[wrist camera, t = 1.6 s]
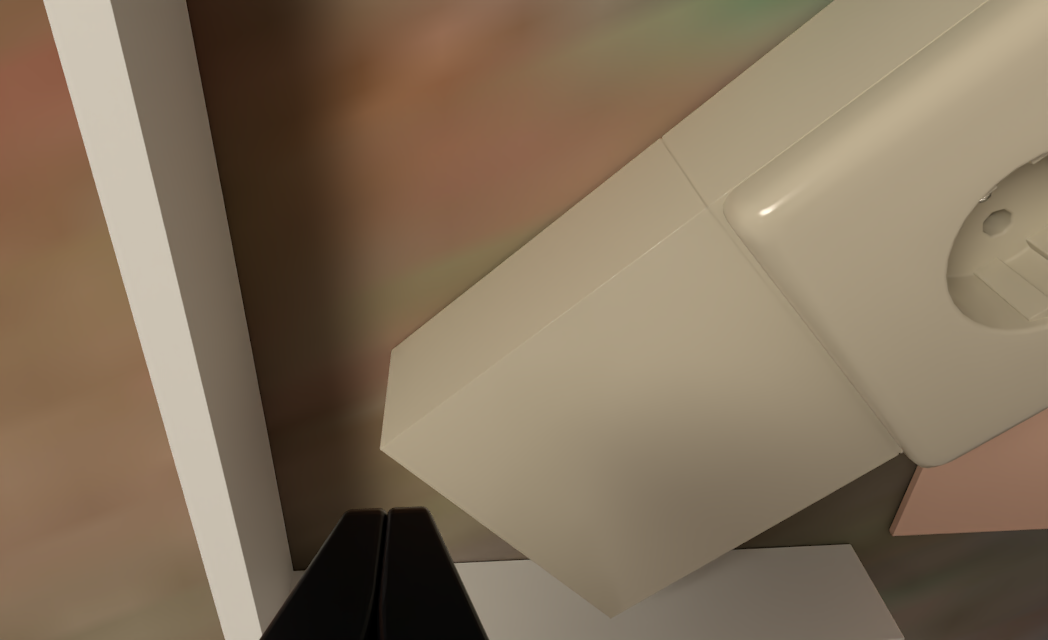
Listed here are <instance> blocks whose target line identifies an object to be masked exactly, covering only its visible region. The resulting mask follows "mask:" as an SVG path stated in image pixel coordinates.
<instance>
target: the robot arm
mask: <svg viewBox="0 0 1048 640" xmlns="http://www.w3.org/2000/svg"><path fill="white" fill-rule="evenodd" d="M259 640H489V638H488V636H487V634H486V632H485V629H484V627H483V625H482V623H481V621H480V619H479V616H478V614H477V612H476V610H475V608H474V606H473V603H472V601H471V599H470V597H469V595H468V593H467V590H466V588H465V586H464V584H463V582H462V580H461V577H460V575H459V573H458V571H457V569H456V567H455V564H454V562H453V560H452V558H451V556H450V554H449V551H448V549H447V547H446V545H445V543H444V541H443V538H442V536H441V534H440V532H439V530H438V528H437V525H436V523H435V521H434V519H433V517H432V515H431V513H430V511H429V510H428V509H427V508H426V507H422V506H420V507H395V508H392V509H390V510H389V512H388V514H387V513H386V511H385V510H383V509H382V508H371V509H351V510H348V511H347V512H345V513H344V514H343V516H342V517H341V518H340V520H339V521H338V523H337V524H336V526H335V527H334V529H333V530H332V532H331V533H330V535H329V536H328V538H327V539H326V541H325V542H324V544H323V545H322V547H321V548H320V550H319V551H318V553H317V554H316V556H315V557H314V559H313V560H312V562H311V563H310V565H309V566H308V568H307V569H306V571H305V572H304V573H303V575H302V576H301V578H300V579H299V581H298V582H297V584H296V585H295V587H294V588H293V590H292V591H291V593H290V594H289V596H288V597H287V599H286V600H285V602H284V603H283V605H282V606H281V608H280V609H279V611H278V612H277V614H276V615H275V617H274V618H273V620H272V621H271V623H270V624H269V626H268V627H267V629H266V630H265V632H264V633H263V635H262V636H261V638H260V639H259Z"/></svg>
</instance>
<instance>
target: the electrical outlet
mask: <svg viewBox="0 0 1048 640" xmlns="http://www.w3.org/2000/svg"><path fill="white" fill-rule="evenodd" d="M662 137H663V138H662V139H658V140H657V141H656V142H655V143H653V144H652V145H651V146H649V147H648V148H647V149H646V150H644V151H643V152H642V153H641V154H639V155H638V156H637V157H636V158H634V159H633V160H632V161H630V162H629V163H628V164H627V165H625V166H624V167H623V168H622V169H620V170H619V171H618V172H617V173H615V174H614V175H613V176H612V177H610V178H609V179H608V180H606V181H605V182H604V183H603V184H601V185H600V186H599V187H598V188H596V189H595V190H594V191H593V192H591V193H590V194H589V195H587V196H586V197H585V198H584V199H582V200H581V201H580V202H579V203H577V204H576V205H575V206H574V207H572V208H571V209H570V210H568V211H567V212H566V213H565V214H563V215H562V216H561V217H560V218H558V219H557V220H556V221H555V222H553V223H552V224H551V225H549V226H548V227H547V228H546V229H544V230H543V231H542V232H541V233H539V234H538V235H537V236H536V237H534V238H533V239H532V240H531V241H529V242H528V243H527V244H525V245H524V246H523V247H522V248H520V249H519V250H518V251H517V252H515V253H514V254H513V255H512V256H510V257H509V258H508V259H506V260H505V261H504V262H503V263H501V264H500V265H499V266H498V267H496V268H495V269H494V270H493V271H491V272H490V273H489V274H487V275H486V276H485V277H484V278H482V279H481V280H480V281H479V282H477V283H476V284H475V285H474V286H472V287H471V288H470V289H469V290H467V291H466V292H465V293H463V294H462V295H461V296H460V297H458V298H457V299H456V300H455V301H453V302H452V303H451V304H450V305H448V306H447V307H446V308H444V309H443V310H442V311H441V312H439V313H438V314H437V315H436V316H434V317H433V318H432V319H431V320H429V321H428V322H427V323H425V324H424V325H423V326H422V327H420V328H419V329H418V330H417V331H415V332H414V333H413V334H412V335H410V336H409V337H408V338H406V339H405V340H404V341H403V342H401V343H400V344H399V345H398V346H396V347H395V348H394V349H393V350H392V351H391V360H390V368H389V377H388V385H387V394H386V402H385V410H384V419H383V427H382V436H381V444H380V450H382V451H383V452H384V453H386V454H387V455H388V456H390V457H391V458H393V459H394V460H395V461H397V462H398V463H399V464H401V465H402V466H403V467H405V468H406V469H408V470H409V471H410V472H412V473H413V474H414V475H416V476H417V477H418V478H420V479H421V480H423V481H424V482H425V483H427V484H428V485H429V486H431V487H432V488H433V489H435V490H436V491H438V492H439V493H440V494H442V495H443V496H444V497H446V498H447V499H448V500H450V501H451V502H453V503H454V504H455V505H457V506H458V507H459V508H461V509H462V510H463V511H465V512H466V513H468V514H469V515H470V516H472V517H473V518H474V519H476V520H477V521H478V522H480V523H481V524H483V525H484V526H485V527H487V528H488V529H489V530H491V531H492V532H493V533H495V534H496V535H498V536H499V537H500V538H502V539H503V540H504V541H506V542H507V543H508V544H510V545H511V546H513V547H514V548H515V549H517V550H518V551H519V552H521V553H522V554H523V555H525V556H526V557H528V558H529V559H530V560H532V561H533V562H534V563H536V564H537V565H538V566H540V567H541V568H543V569H544V570H545V571H547V572H548V573H549V574H551V575H552V576H553V577H555V578H556V579H558V580H559V581H560V582H562V583H563V584H564V585H566V586H567V587H568V588H570V589H571V590H573V591H574V592H575V593H577V594H578V595H579V596H581V597H582V598H583V599H585V600H586V601H588V602H589V603H590V604H592V605H593V606H594V607H596V608H597V609H598V610H600V611H601V612H603V613H604V614H605V615H607V616H608V617H609V618H613V617H615V616H616V615H618V614H620V613H622V612H623V611H625V610H627V609H629V608H630V607H632V606H634V605H636V604H637V603H639V602H641V601H643V600H644V599H646V598H648V597H650V596H651V595H653V594H655V593H657V592H658V591H660V590H662V589H664V588H665V587H667V586H669V585H671V584H672V583H674V582H676V581H678V580H679V579H681V578H683V577H685V576H687V575H688V574H690V573H692V572H694V571H695V570H697V569H699V568H701V567H702V566H704V565H706V564H708V563H709V562H711V561H713V560H715V559H716V558H718V557H720V556H722V555H723V554H725V553H727V552H729V551H730V550H732V549H734V548H736V547H737V546H739V545H741V544H743V543H744V542H746V541H748V540H750V539H752V538H753V537H755V536H757V535H759V534H760V533H762V532H764V531H766V530H767V529H769V528H771V527H773V526H774V525H776V524H778V523H780V522H781V521H783V520H785V519H787V518H788V517H790V516H792V515H794V514H795V513H797V512H799V511H801V510H802V509H804V508H806V507H808V506H809V505H811V504H813V503H815V502H816V501H818V500H820V499H822V498H824V497H825V496H827V495H829V494H831V493H832V492H834V491H836V490H838V489H839V488H841V487H843V486H845V485H846V484H848V483H850V482H852V481H853V480H855V479H857V478H859V477H860V476H862V475H864V474H866V473H867V472H869V471H871V470H873V469H874V468H876V467H878V466H880V465H881V464H883V463H885V462H887V461H888V460H890V459H892V458H894V457H896V456H897V455H899V454H898V453H903V452H904V453H905V454H906V456H907V457H908V458H909V459H910V460H911V461H912V462H914V463H915V464H917V465H919V466H920V467H923V468H934V467H937V466H941V465H944V464H946V463H949V462H951V461H953V460H955V459H957V458H959V457H961V456H962V455H964V454H966V453H968V452H970V451H971V450H973V449H975V448H977V447H979V446H981V445H982V444H984V443H986V442H988V441H990V440H991V439H993V438H995V437H997V436H999V435H1000V434H1002V433H1004V432H1006V431H1008V430H1009V429H1011V428H1013V427H1015V426H1017V425H1018V424H1020V423H1022V422H1024V421H1026V420H1027V419H1029V418H1031V417H1033V416H1035V415H1036V414H1038V413H1040V412H1042V411H1044V410H1046V409H1047V408H1048V0H834V1H833V2H832V3H830V4H829V5H828V6H827V7H825V8H824V9H823V10H822V11H820V12H819V13H818V14H817V15H815V16H814V17H813V18H811V19H810V20H809V21H808V22H806V23H805V24H804V25H803V26H801V27H800V28H799V29H798V30H796V31H795V32H794V33H792V34H791V35H790V36H789V37H787V38H786V39H785V40H784V41H782V42H781V43H780V44H779V45H777V46H776V47H775V48H774V49H772V50H771V51H770V52H768V53H767V54H766V55H765V56H763V57H762V58H761V59H760V60H758V61H757V62H756V63H755V64H753V65H752V66H751V67H749V68H748V69H747V70H746V71H744V72H743V73H742V74H741V75H739V76H738V77H737V78H736V79H734V80H733V81H732V82H730V83H729V84H728V85H727V86H725V87H724V88H723V89H722V90H720V91H719V92H718V93H717V94H715V95H714V96H713V97H711V98H710V99H709V100H708V101H706V102H705V103H704V104H703V105H701V106H700V107H699V108H698V109H696V110H695V111H694V112H693V113H691V114H690V115H689V116H687V117H686V118H685V119H684V120H682V121H681V122H680V123H679V124H677V125H676V126H675V127H674V128H672V129H671V130H670V131H668V132H667V133H666V134H665V135H663V136H662Z"/></svg>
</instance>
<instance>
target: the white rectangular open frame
mask: <svg viewBox="0 0 1048 640" xmlns="http://www.w3.org/2000/svg"><path fill="white" fill-rule="evenodd" d="M43 1H44V4H45V8H46V11H47V15H48V18H49V22H50V25H51V29H52V32H53V36H54V39H55V43H56V46H57V50H58V53H59V57H60V60H61V64H62V68H63V71H64V75H65V78H66V82H67V85H68V89H69V92H70V96H71V99H72V103H73V106H74V110H75V113H76V117H77V120H78V124H79V127H80V131H81V134H82V138H83V141H84V145H85V148H86V152H87V155H88V159H89V162H90V166H91V169H92V173H93V177H94V180H95V184H96V187H97V191H98V194H99V198H100V201H101V205H102V208H103V212H104V215H105V219H106V222H107V226H108V229H109V233H110V236H111V240H112V243H113V247H114V250H115V254H116V257H117V261H118V264H119V268H120V271H121V275H122V279H123V282H124V286H125V289H126V293H127V296H128V300H129V303H130V307H131V310H132V314H133V317H134V321H135V324H136V328H137V331H138V335H139V338H140V342H141V345H142V349H143V352H144V356H145V359H146V363H147V366H148V370H149V373H150V377H151V380H152V384H153V388H154V391H155V395H156V398H157V402H158V405H159V409H160V412H161V416H162V419H163V423H164V426H165V430H166V433H167V437H168V440H169V444H170V447H171V451H172V454H173V458H174V461H175V465H176V468H177V472H178V475H179V479H180V482H181V486H182V489H183V493H184V497H185V500H186V504H187V507H188V511H189V514H190V518H191V521H192V525H193V528H194V532H195V535H196V539H197V542H198V546H199V549H200V553H201V556H202V560H203V563H204V567H205V570H206V574H207V577H208V581H209V584H210V588H211V591H212V595H213V598H214V602H215V606H216V609H217V613H218V616H219V620H220V623H221V627H222V630H223V634H224V637H225V640H259V639H260V638H261V636H262V635H263V633H264V632H265V630H266V629H267V627H268V626H269V624H270V623H271V621H272V620H273V618H274V617H275V615H276V614H277V612H278V611H279V609H280V608H281V606H282V605H283V603H284V602H285V600H286V599H287V597H288V596H289V594H290V593H291V591H292V590H293V588H294V587H295V585H296V584H297V582H298V581H299V579H300V578H301V576H302V575H303V573H304V572H305V571H306V570H305V571H293V566H292V561H291V555H290V550H289V545H288V539H287V534H286V529H285V524H284V518H283V513H282V508H281V502H280V497H279V492H278V486H277V481H276V476H275V470H274V465H273V460H272V455H271V449H270V444H269V439H268V433H267V428H266V423H265V417H264V412H263V407H262V402H261V396H260V391H259V386H258V380H257V375H256V370H255V364H254V359H253V354H252V349H251V343H250V338H249V333H248V327H247V322H246V317H245V311H244V306H243V301H242V295H241V290H240V285H239V280H238V274H237V269H236V264H235V258H234V253H233V248H232V242H231V237H230V232H229V227H228V221H227V216H226V211H225V205H224V200H223V195H222V189H221V184H220V179H219V173H218V168H217V163H216V158H215V152H214V147H213V142H212V136H211V131H210V126H209V120H208V115H207V110H206V105H205V99H204V94H203V89H202V83H201V78H200V73H199V67H198V62H197V57H196V52H195V46H194V41H193V36H192V30H191V25H190V20H189V14H188V9H187V4H186V0H43ZM454 564H455V567H456V569H457V571H458V573H459V575H460V577H461V580H462V582H463V584H464V586H465V588H466V590H467V593H468V595H469V597H470V599H471V601H472V603H473V606H474V608H475V610H476V612H477V614H478V616H479V619H480V621H481V623H482V625H483V627H484V629H485V632H486V634H487V636H488V638H489V640H904V639H905V638H904V636H903V634H902V633H901V631H900V629H899V627H898V626H897V624H896V622H895V620H894V619H893V617H892V615H891V614H890V612H889V610H888V608H887V607H886V605H885V603H884V601H883V600H882V598H881V596H880V594H879V593H878V591H877V589H876V588H875V586H874V584H873V582H872V581H871V579H870V577H869V575H868V574H867V572H866V570H865V568H864V567H863V565H862V563H861V561H860V560H859V558H858V556H857V555H856V553H855V551H854V549H853V548H852V546H851V544H843V545H822V546H802V547H781V548H760V549H739V550H730V551H729V552H727V553H725V554H723V555H722V556H720V557H718V558H716V559H715V560H713V561H711V562H709V563H708V564H706V565H704V566H702V567H701V568H699V569H697V570H695V571H694V572H692V573H690V574H688V575H687V576H685V577H683V578H681V579H679V580H678V581H676V582H674V583H672V584H671V585H669V586H667V587H665V588H664V589H662V590H660V591H658V592H657V593H655V594H653V595H651V596H650V597H648V598H646V599H644V600H643V601H641V602H639V603H637V604H636V605H634V606H632V607H630V608H629V609H627V610H625V611H623V612H622V613H620V614H618V615H616V616H615V617H613V618H609V617H608V616H607V615H605V614H604V613H603V612H601V611H600V610H598V609H597V608H596V607H594V606H593V605H592V604H590V603H589V602H588V601H586V600H585V599H583V598H582V597H581V596H579V595H578V594H577V593H575V592H574V591H573V590H571V589H570V588H568V587H567V586H566V585H564V584H563V583H562V582H560V581H559V580H558V579H556V578H555V577H553V576H552V575H551V574H549V573H548V572H547V571H545V570H544V569H543V568H541V567H540V566H538V565H537V564H536V563H534V562H533V561H532V560H512V561H491V562H471V563H454Z"/></svg>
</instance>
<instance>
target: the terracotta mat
mask: <svg viewBox="0 0 1048 640" xmlns="http://www.w3.org/2000/svg"><path fill="white" fill-rule="evenodd" d="M1030 529H1048V408H1047V409H1046V410H1044V411H1042V412H1040V413H1038V414H1036V415H1035V416H1033V417H1031V418H1029V419H1027V420H1026V421H1024V422H1022V423H1020V424H1018V425H1017V426H1015V427H1013V428H1011V429H1009V430H1008V431H1006V432H1004V433H1002V434H1000V435H999V436H997V437H995V438H993V439H991V440H990V441H988V442H986V443H984V444H982V445H981V446H979V447H977V448H975V449H973V450H971V451H970V452H968V453H966V454H964V455H962V456H961V457H959V458H957V459H955V460H953V461H951V462H949V463H946V464H944V465H941V466H937V467H934V468H923V467H920V466H919V465H918V466H917V468H916V470H915V473H914V475H913V477H912V480H911V482H910V484H909V486H908V489H907V491H906V493H905V495H904V498H903V500H902V502H901V504H900V507H899V509H898V511H897V513H896V516H895V518H894V520H893V523H892V525H891V527H890V529H889V531H890V533H891V534H892V536H904V535H925V534H946V533H967V532H988V531H1009V530H1030Z"/></svg>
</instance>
